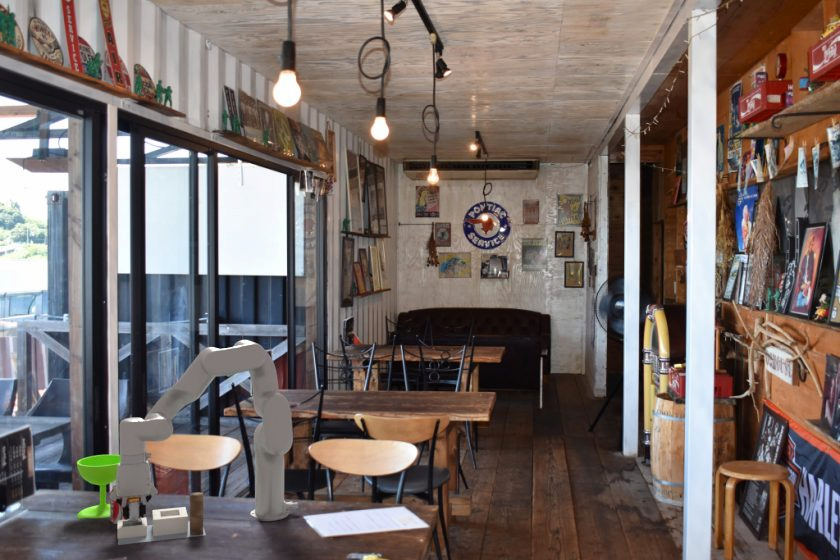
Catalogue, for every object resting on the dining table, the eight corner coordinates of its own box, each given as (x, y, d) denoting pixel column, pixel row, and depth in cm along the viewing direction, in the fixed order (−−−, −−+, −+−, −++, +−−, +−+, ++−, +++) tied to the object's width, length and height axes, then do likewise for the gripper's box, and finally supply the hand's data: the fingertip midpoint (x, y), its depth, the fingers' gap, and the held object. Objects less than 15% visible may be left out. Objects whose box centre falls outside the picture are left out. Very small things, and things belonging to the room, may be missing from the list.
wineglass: (110, 503, 269) (111, 452, 269) (138, 512, 260) (138, 459, 259) (66, 515, 256) (67, 461, 256) (94, 525, 247) (94, 469, 246)
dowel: (202, 530, 240) (202, 491, 240) (203, 534, 236) (203, 495, 236) (189, 531, 238) (189, 493, 238) (190, 536, 235) (190, 496, 234)
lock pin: (141, 526, 240) (140, 494, 240) (141, 530, 236) (141, 498, 236) (127, 528, 239) (127, 496, 238) (127, 532, 235) (127, 499, 235)
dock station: (201, 522, 250) (201, 504, 250) (205, 538, 236) (205, 518, 235) (117, 531, 241) (117, 512, 241) (117, 548, 227) (117, 528, 226)
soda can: (125, 527, 244) (125, 490, 244) (105, 526, 246) (105, 488, 246) (137, 520, 251) (138, 483, 251) (118, 518, 253) (118, 482, 253)
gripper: (161, 453, 243) (162, 510, 244) (104, 458, 237) (105, 517, 238) (162, 458, 236) (163, 518, 237) (103, 464, 230) (104, 525, 231)
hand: (134, 517), depth 237 cm, fingers closed on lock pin, 4 cm apart
